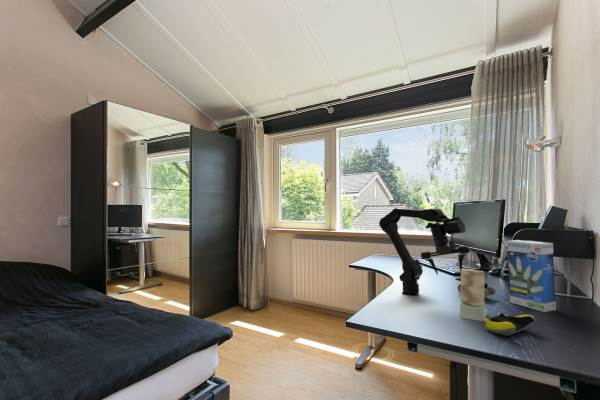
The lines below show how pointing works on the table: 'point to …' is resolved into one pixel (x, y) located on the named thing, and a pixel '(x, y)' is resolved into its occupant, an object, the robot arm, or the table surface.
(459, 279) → the figurine character
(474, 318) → the bottom slab
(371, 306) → the table surface
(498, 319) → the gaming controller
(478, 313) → the top slab
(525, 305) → the string lights box
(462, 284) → the maple block
